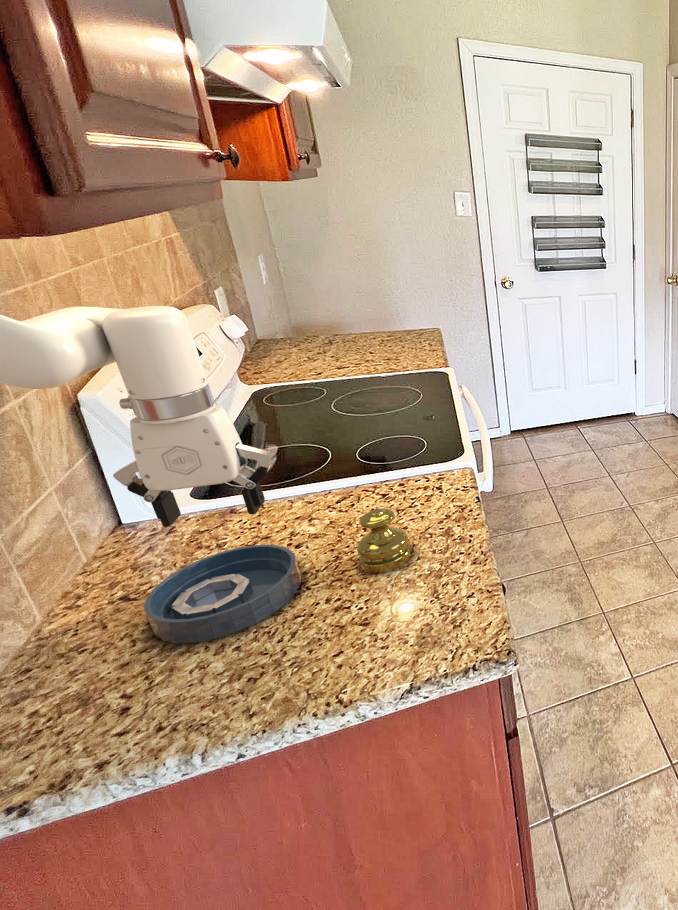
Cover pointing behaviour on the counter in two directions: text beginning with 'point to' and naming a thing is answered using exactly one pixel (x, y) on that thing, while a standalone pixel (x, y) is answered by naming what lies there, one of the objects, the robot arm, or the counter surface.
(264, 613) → the bowl
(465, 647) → the counter surface
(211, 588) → the ring
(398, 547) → the brass weight
